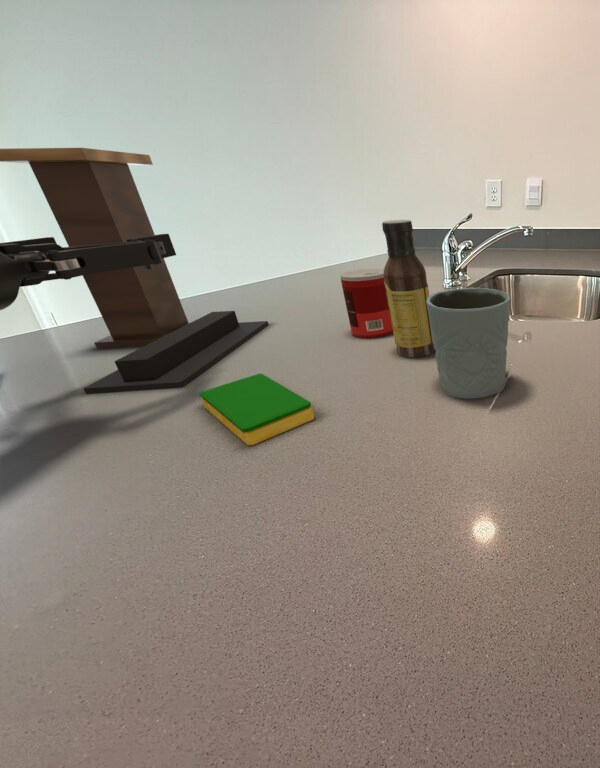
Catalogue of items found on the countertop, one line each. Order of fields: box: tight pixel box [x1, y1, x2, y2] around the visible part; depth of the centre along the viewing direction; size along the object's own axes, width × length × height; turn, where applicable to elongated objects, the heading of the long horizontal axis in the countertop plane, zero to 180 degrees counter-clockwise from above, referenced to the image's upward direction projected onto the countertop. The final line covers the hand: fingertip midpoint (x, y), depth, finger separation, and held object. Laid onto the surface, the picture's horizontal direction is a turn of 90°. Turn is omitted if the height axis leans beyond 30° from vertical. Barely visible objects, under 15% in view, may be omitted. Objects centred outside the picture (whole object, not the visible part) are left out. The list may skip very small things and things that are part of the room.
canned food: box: [340, 268, 394, 339], centre depth 72 cm, size 8×8×11 cm
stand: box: [0, 147, 198, 350], centre depth 69 cm, size 14×12×30 cm
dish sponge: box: [199, 373, 315, 446], centre depth 48 cm, size 7×14×2 cm, turn 51°
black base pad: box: [82, 320, 270, 395], centre depth 67 cm, size 28×12×1 cm, turn 7°
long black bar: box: [114, 310, 240, 381], centre depth 65 cm, size 24×4×3 cm, turn 7°
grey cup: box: [426, 287, 511, 400], centre depth 51 cm, size 10×10×12 cm
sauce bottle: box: [381, 219, 436, 358], centre depth 61 cm, size 6×6×20 cm
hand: (113, 246), depth 53 cm, fingers open, 13 cm apart
